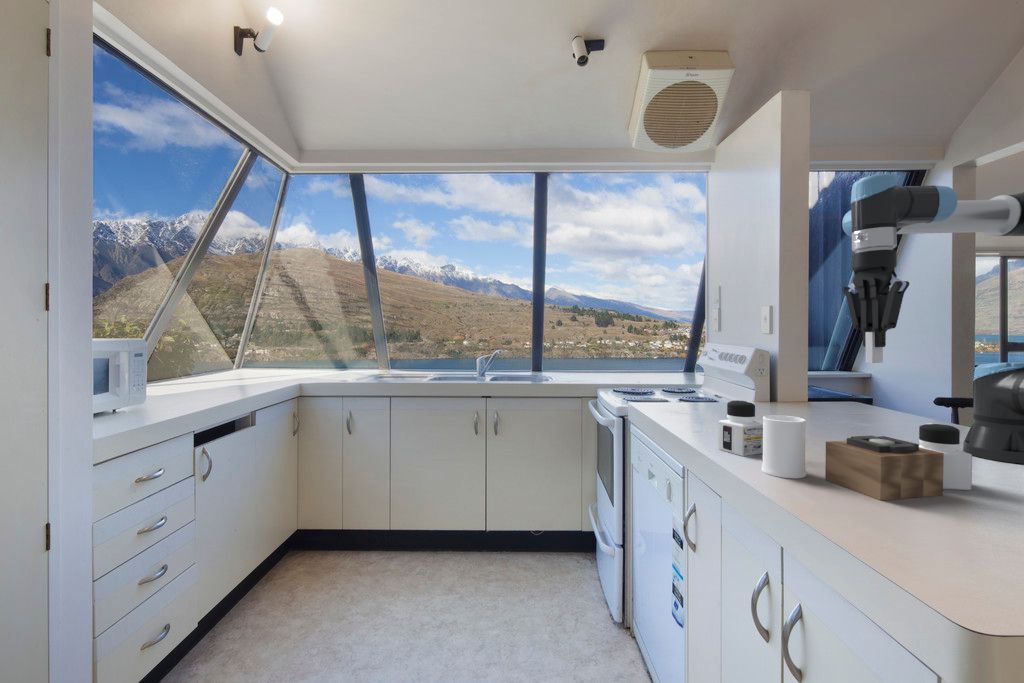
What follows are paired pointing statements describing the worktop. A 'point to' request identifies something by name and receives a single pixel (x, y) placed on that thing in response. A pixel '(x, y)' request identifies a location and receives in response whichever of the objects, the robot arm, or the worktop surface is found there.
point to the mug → (784, 446)
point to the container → (741, 430)
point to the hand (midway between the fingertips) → (874, 362)
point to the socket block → (884, 468)
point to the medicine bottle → (948, 454)
